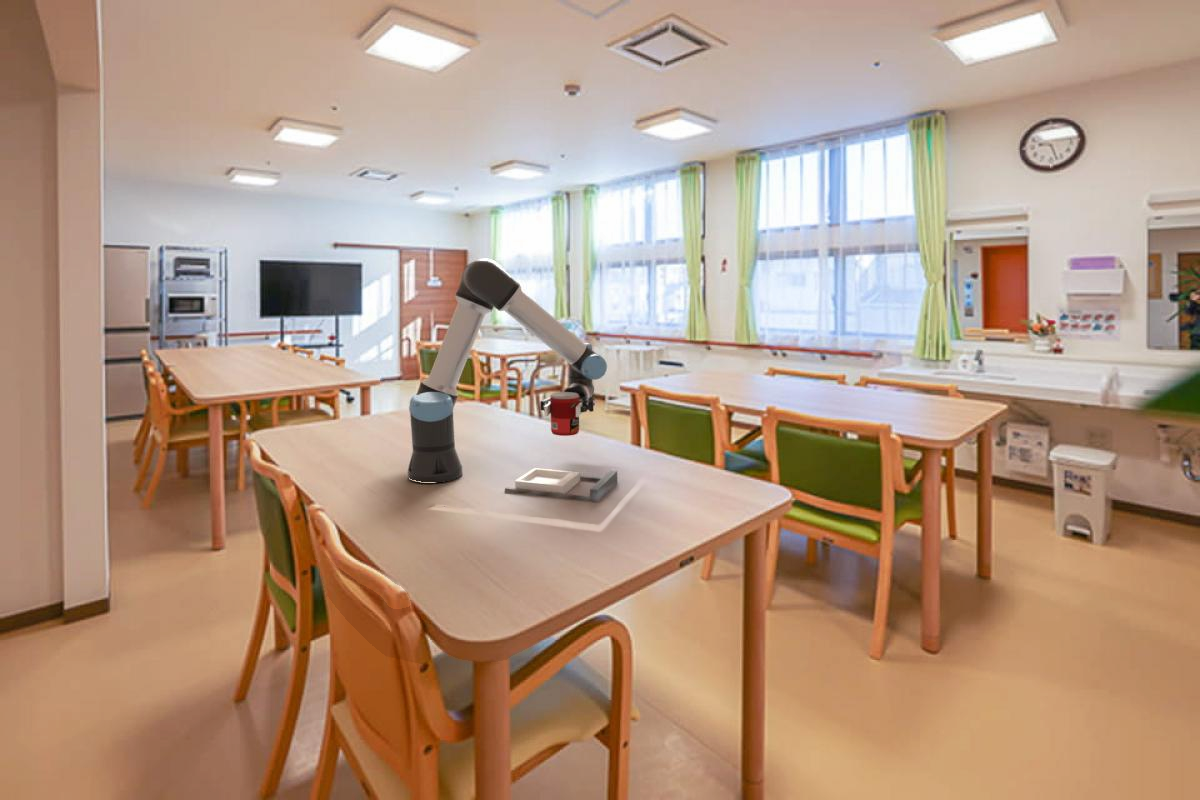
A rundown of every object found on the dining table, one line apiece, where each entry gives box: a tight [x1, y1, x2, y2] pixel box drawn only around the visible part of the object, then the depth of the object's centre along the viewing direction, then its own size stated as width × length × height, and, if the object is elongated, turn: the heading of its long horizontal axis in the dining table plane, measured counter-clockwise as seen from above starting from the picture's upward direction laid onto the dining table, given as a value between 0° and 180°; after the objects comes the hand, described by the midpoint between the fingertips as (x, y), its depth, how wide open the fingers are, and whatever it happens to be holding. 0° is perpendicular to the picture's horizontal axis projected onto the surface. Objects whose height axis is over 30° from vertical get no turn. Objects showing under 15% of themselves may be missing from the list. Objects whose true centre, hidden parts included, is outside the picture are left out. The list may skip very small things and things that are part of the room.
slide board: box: [504, 470, 618, 503], centre depth 160 cm, size 27×16×4 cm, turn 71°
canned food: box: [549, 391, 580, 437], centre depth 170 cm, size 8×8×11 cm
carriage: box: [514, 467, 581, 494], centre depth 162 cm, size 14×12×2 cm
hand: (561, 411), depth 165 cm, fingers closed on canned food, 8 cm apart
